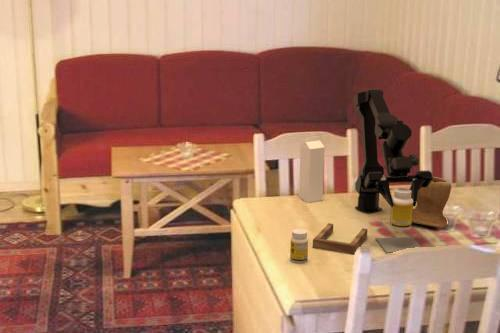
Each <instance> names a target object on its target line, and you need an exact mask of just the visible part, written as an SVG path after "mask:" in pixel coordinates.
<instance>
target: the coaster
mask: <svg viewBox="0 0 500 333" xmlns="http://www.w3.org/2000/svg"><path fill="white" fill-rule="evenodd" d="M375 241H376V243H377V244H378V245H379V246H380V248H381V249H382V250H383V251H384V253H385V254H386V255H388V254H387V253H393V252H396V251H399V250H403V249H406V248H415V247H422V246H421V245H420V244H419V243H418V242H417V240H416V239H414V237H413V236H402V237H401V236H400V237H398V236H397V237H376V238H375Z"/></svg>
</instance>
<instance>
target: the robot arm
mask: <svg viewBox="0 0 500 333" xmlns="http://www.w3.org/2000/svg"><path fill="white" fill-rule="evenodd" d="M353 106H354V107H355V114H356V115H357V116H358V118H360V119H359V120H360V123H361V137H362V138H361V139H362V154H363V155H362V158H363V164H362V166H360V169H359V172H358V174H359V175H358V177H357V178H356V180H355V183H354V187H355V191H356V192H357V194H358V197H357V206H355V207H354V209H356V210H358V211H361V212H364V213H366V214H371V213H375V212H379V211H383V208H382V207H380V195H381V196H382V198H383V199H385V201H386V202H387V204H388V205H389V207H390V208H391V207H393V200H392V198H393V196H392V192H391V189H390V184H391V183H392V184H393V183H394V184H395V183H396V184H397V183H409V184H410V187H409V189H410V190H411V191H412V192H411V196H410V197H411V198H412V199H413V208H415V207H416V205H417V195H418V190H419V189H420V188H421V187H428V185H429V184H430V182H431V181H432V179H433V177H434V176H433V172H431V171H430V170H417V171H416V172H415V175H409V174H410V173H411V169H413V167H417V166H419V161H420V160H419V157H418V154H415V153H414V154H410V155H409V156H406V155H404V150H403V149H404V148H406V146H407V144H408V143H409V140H410V139H411V136H412V133H413V132H412V129H411V128H410V127H409V126H408V125H407V124H405V123H404V121H403V120H399V118H398V117H397V116H396V115H393V114H392V113H391V111H390V108H389V106H388V104H387V102H386V99H385V98H384V91H383V89H379V88H377V89H376V88H375V89H371V88H369V89H366V90H365V91H359V92H357V93H356V94H355V95H354V96H353ZM377 139H378V140H383V142H382V144H381V152H382V154H383V159H384V166H383V165H381V164H380V163H379V160H378V156H379V155H378V144H377ZM384 170H385V171H386V174H385V171H384Z"/></svg>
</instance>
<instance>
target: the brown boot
mask: <svg viewBox="0 0 500 333" xmlns="http://www.w3.org/2000/svg"><path fill="white" fill-rule="evenodd" d="M451 190H452V184H451V182H450V181H449V180H447V179H445V178H441V177H437V176H433V179H432V181H431V182H430V184H429V185H428V187H421V188H420V189H419V190H418V195H417V201H416V206H415V207H413V214H412V224H417V225H422V226H427V227H433V228H444V227H446V226H448V224H447V220H446V218H447V217H446V218H445V216H444V209H445V207H446V206H447V202H448V201H449V198H450V196H451V195H450V194H451Z"/></svg>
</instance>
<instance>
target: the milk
mask: <svg viewBox="0 0 500 333" xmlns="http://www.w3.org/2000/svg"><path fill="white" fill-rule="evenodd" d="M299 148H300V150H299V182H298V183H299V184H298V186H299V187H298V199H300V200H301V201H304V202H306V203H307V204H310V202H311V203H315V202H320V201H321V200H322V201H323V199H324V197H323V196H324V179H325V178H324V174H325V150H326V149H325V148H326V147H325V145H324V144H323V143H322V141H321V136H319V135H317V136H310V137H309V136H308V137H305V139H304V142H303V143H301V145H300V147H299Z"/></svg>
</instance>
